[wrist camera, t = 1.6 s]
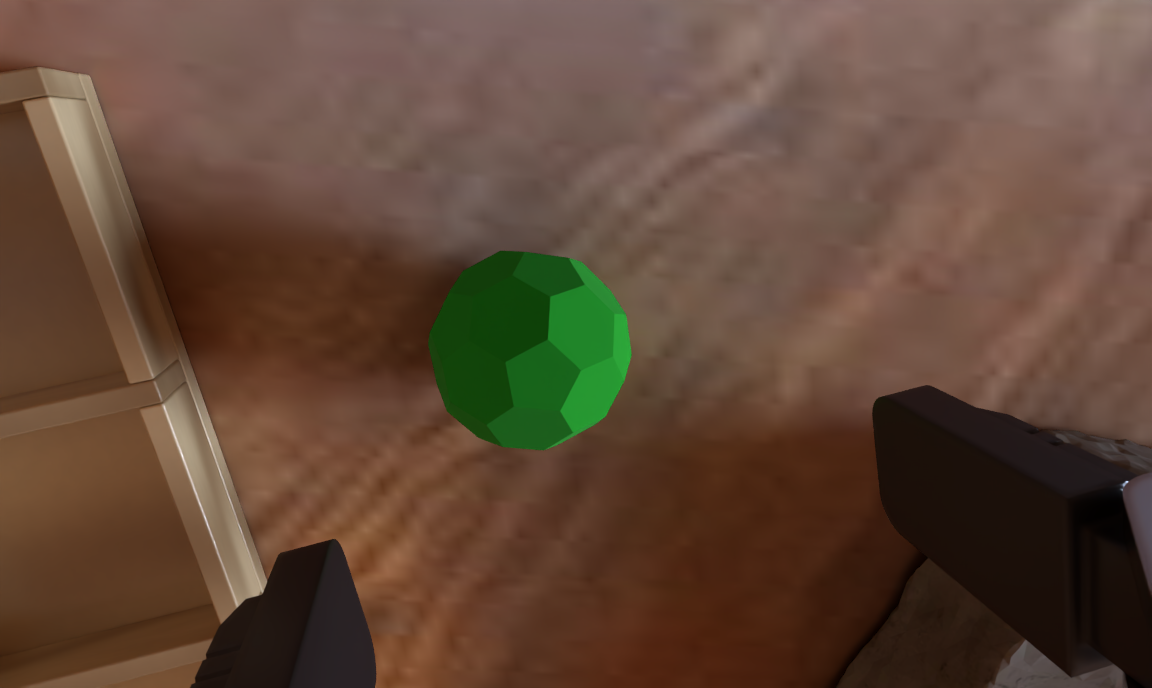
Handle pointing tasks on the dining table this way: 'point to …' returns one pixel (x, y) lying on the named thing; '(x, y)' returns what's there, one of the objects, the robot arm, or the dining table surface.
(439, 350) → the polyhedron
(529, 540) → the dining table surface
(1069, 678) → the marble piece
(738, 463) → the dining table surface
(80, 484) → the compartment tray
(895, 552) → the dining table surface
